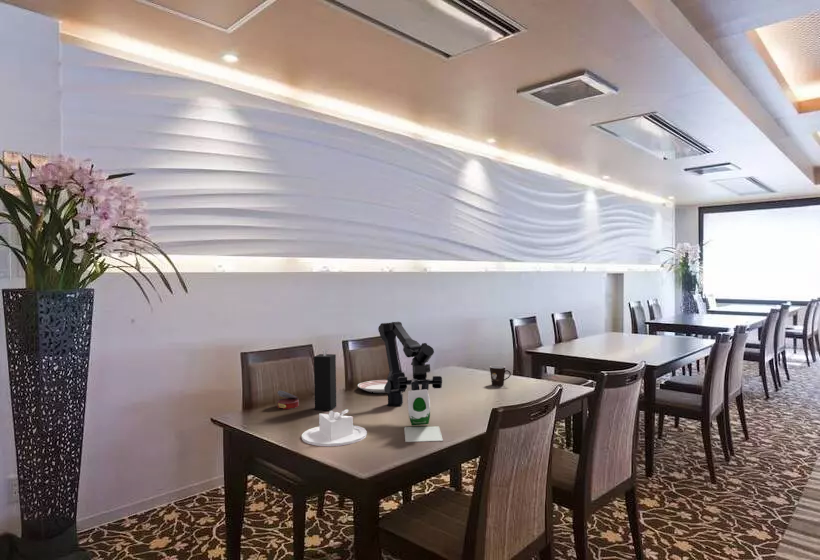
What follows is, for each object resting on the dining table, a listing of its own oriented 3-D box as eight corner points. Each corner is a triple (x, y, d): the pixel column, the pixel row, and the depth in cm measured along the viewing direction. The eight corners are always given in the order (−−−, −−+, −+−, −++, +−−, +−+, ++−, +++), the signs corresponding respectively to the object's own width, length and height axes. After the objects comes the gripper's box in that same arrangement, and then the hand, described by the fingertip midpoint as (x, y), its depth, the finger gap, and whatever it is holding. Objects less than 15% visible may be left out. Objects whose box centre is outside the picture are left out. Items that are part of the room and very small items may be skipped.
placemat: (404, 427, 215) (404, 427, 215) (438, 427, 216) (438, 426, 216) (405, 442, 197) (405, 441, 197) (443, 441, 198) (442, 440, 198)
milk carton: (409, 427, 218) (408, 409, 201) (407, 407, 223) (406, 386, 207) (431, 426, 218) (431, 407, 202) (428, 405, 223) (428, 385, 207)
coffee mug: (486, 384, 296) (486, 366, 296) (499, 382, 300) (499, 365, 300) (498, 388, 286) (498, 369, 286) (512, 386, 289) (511, 368, 289)
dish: (379, 435, 207) (379, 406, 207) (330, 451, 189) (329, 420, 189) (338, 423, 224) (338, 397, 224) (288, 438, 205) (288, 409, 205)
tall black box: (330, 410, 243) (329, 349, 243) (314, 410, 245) (313, 349, 245) (336, 406, 251) (335, 347, 251) (320, 406, 253) (319, 347, 252)
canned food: (277, 416, 253) (273, 396, 257) (298, 411, 258) (293, 391, 261) (281, 410, 244) (276, 389, 248) (302, 405, 249) (297, 384, 252)
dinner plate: (352, 387, 295) (352, 381, 295) (398, 382, 305) (398, 377, 305) (365, 397, 269) (365, 391, 269) (416, 392, 279) (416, 386, 279)
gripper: (397, 358, 226) (398, 389, 215) (441, 357, 227) (444, 388, 216) (397, 373, 234) (398, 404, 223) (440, 372, 235) (442, 403, 224)
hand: (420, 399), depth 221 cm, fingers closed
